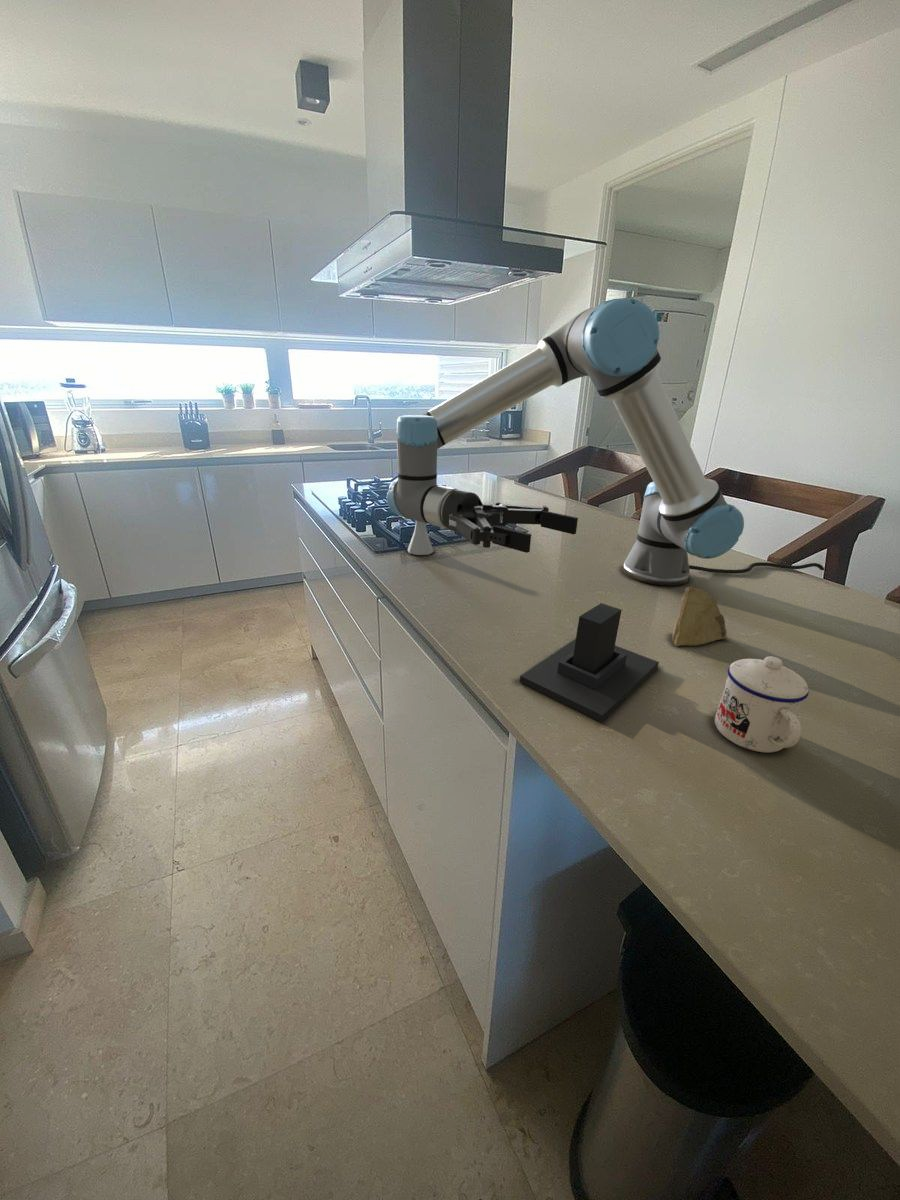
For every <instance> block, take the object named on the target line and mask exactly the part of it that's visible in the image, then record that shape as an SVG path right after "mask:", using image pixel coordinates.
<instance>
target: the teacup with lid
mask: <svg viewBox="0 0 900 1200" xmlns="http://www.w3.org/2000/svg"><path fill="white" fill-rule="evenodd" d="M783 664H784V663H783V661H782V660H781V659H780V658H778V657H776V656H772V655H769V656H766V657H764V659H759V658H758V659H757V658H741V659H738V660H735V661H734V662H732V663H731V664H730V665H729V666H728V668H727V678H726V681H725V685H724V687H723V690H722V694H721V698H720V701H719V703H718V707H717V710H716V713H715V716H714V724H715V728H716V729H717V731H718V732H719V733H720V734H721V735H722V736H724V737H725V738H726V739H727V740H729V741H730V742H731V743H733V744H735V745H737V746H739V747H741V748H744V749H746V750H750V751H753V752H758V753H759V752H760V753H775V752H779V751H781V750H783V749H786V748H787V749H788V748H792V747H794V746H795V745H797V743H798V742H799V741H800V739H801V736H802V725H801V723H800V720H799V717H798V715H799V712H800V710H801V708H802V705H803V703H804V701H805V700H806V699H807V698H808V696H809V694H810V693H809V692H810V691H809V686H808V684H807V681H806V680H805V679H804V678H803V677H802V676H801V675H800V674H799V673H797V672H795V671H794V670H792V669H790V668H788V667H786V666H784V665H783Z"/></svg>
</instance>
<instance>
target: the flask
mask: <svg viewBox="0 0 900 1200" xmlns="http://www.w3.org/2000/svg"><path fill="white" fill-rule="evenodd" d="M407 552H408V554H412V555H417V556H426V555H427V556H429V555H430V554H431V555H432V554H433V553H434V548H433V546H432V542H431V540H430V536H429V534H428V530H427V523H423V522H419V521H415V525H414V530H413V533H412V537H411V539H410V542H409V545H408V547H407Z"/></svg>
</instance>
